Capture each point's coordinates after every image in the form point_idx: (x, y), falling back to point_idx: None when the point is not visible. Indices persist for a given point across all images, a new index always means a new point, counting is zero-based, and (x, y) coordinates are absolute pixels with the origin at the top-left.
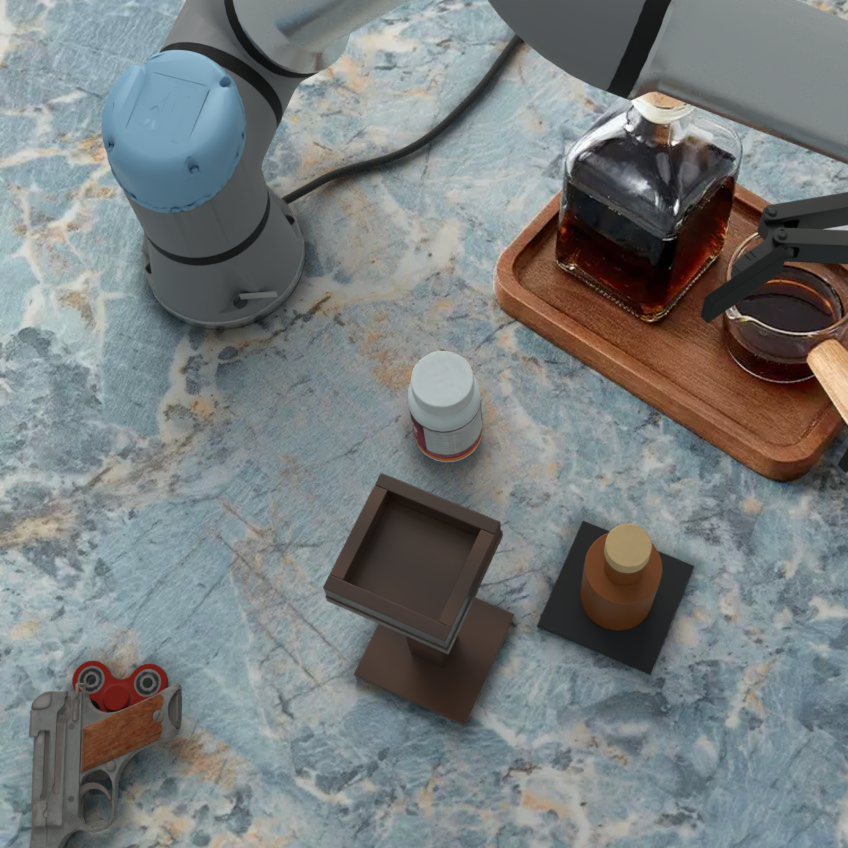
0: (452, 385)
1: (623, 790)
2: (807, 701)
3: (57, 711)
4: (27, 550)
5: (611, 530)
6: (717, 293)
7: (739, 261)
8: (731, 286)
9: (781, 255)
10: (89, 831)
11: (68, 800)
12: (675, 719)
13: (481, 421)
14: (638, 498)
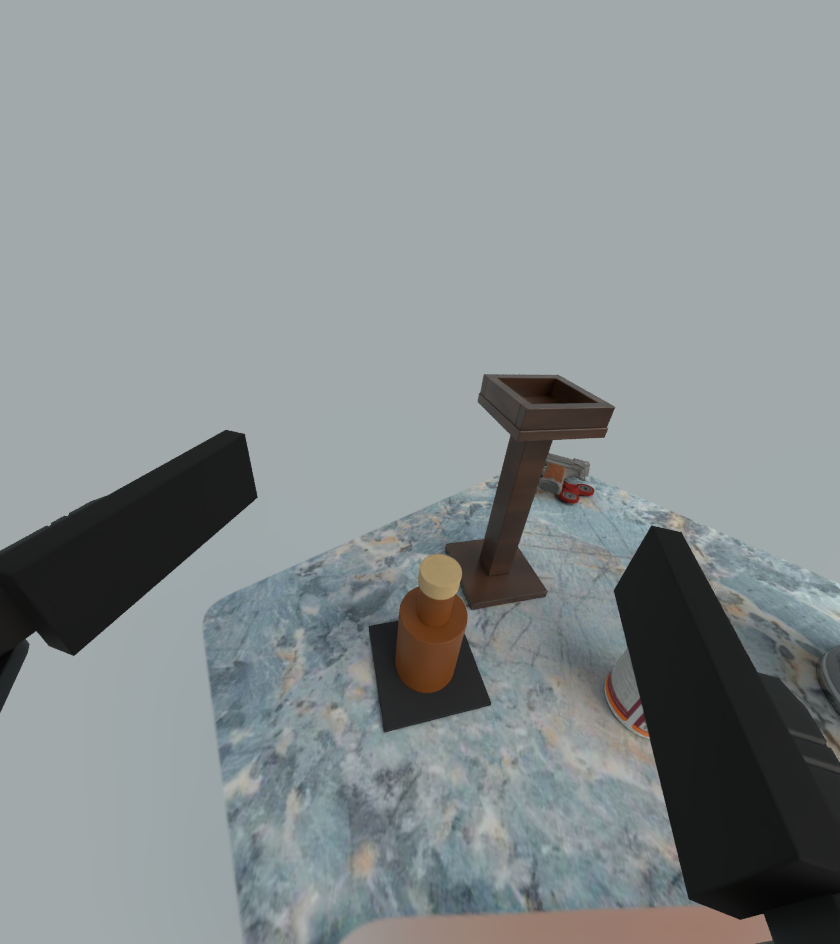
0: None
1: (348, 564)
2: (242, 681)
3: (578, 464)
4: (665, 513)
5: (461, 572)
6: (678, 550)
7: (789, 700)
8: (687, 578)
9: (785, 811)
10: None
11: None
12: (338, 613)
13: (632, 704)
14: (470, 767)
